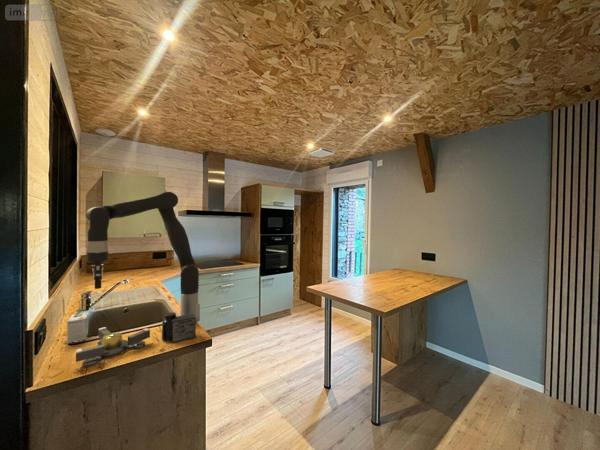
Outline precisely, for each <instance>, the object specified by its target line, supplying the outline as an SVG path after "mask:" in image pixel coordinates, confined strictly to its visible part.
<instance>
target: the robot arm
mask: <svg viewBox="0 0 600 450" xmlns="http://www.w3.org/2000/svg"><path fill="white" fill-rule="evenodd" d="M178 203H179V197H178V196H177V194H176V193H174V192H172V191H164V192H162V193H160V194H158V195H154V196H150V197H146V198H140V199H134V200H128V201H121V202H117V203H113V204H109V205H102V206H94V207H91V208H89V209H88V210H86V213H85V217H86V219H87V220H89V229H88V231H87V243H86V262H87V263H93V264H94V265H91V266H92V267H91V270H92V276H93V280H94V289H95V290H99V289H100V290H101V288H102V279H103V274H104V268H105V267H104V265H105V264H102V262H107V261H109V241H108V240H109V239H108V238H109V237H108V236H109V234H108V233H109V232H108V229H109V223H110V220H112V219H119V218H120V219H121V218H125V217H129V216H134V215H138V214H141V213H144V212H148V211H151V210H158V211H159V212H158V213H159V214H160V216H161V218H162V221H163V224H164V227H165V230H166V233H167V237H168V241H169V243H170V245H171V248H172V250H173V251H174V253H175V255H176V257H177V259H178V262H179V266H180V316H183V315H188V314H194V315H195V317H196V322H197V323H198V322H199V321H200V316H201V315H200V314H201V312H200V310H201V308H200V307H201V304H200V303H199V289H200V288H199V281H200V280H199V277H200V275H199V274H200V273H199V272H200V271H199V267H198V266H197V264H196V261H195V260H194V257H193V255H192V251H191V250H192V249H191V245H190V241H189V237H188V235H187V231H186V229H185V228H184V227H185V226H183V224H182V223H181V222H180V221H179V220H178V218H177V216H176V212H175V209H174V207H177V205H178Z"/></svg>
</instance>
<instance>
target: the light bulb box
mask: <svg viewBox="0 0 600 450" xmlns="http://www.w3.org/2000/svg"><path fill="white" fill-rule="evenodd" d="M66 323H67V325H66V328H67V329H66V336H67V337H66V338H67V339H66V344H67V345H70V344H71V343H70V342H74V341H80V342H83V341H82V340H85V341H86V340H87V337H88V335H89V334H88V333H89V311H87V312H86V311H85V312H81V313H74V314H71V315H70V317H69V319H68V320H67V322H66ZM69 343H70V344H69Z"/></svg>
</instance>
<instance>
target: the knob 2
mask: <svg viewBox="0 0 600 450" xmlns="http://www.w3.org/2000/svg"><path fill="white" fill-rule="evenodd" d="M150 331H151V328H146V327H145V328H143V329H142V330H141V331H138V332H136V333H134V334H131V335H129V336H127V341H128V345H133V344H141V343H142V341H145V340H147V339H149V338H150V337H151V332H150Z"/></svg>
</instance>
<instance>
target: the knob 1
mask: <svg viewBox="0 0 600 450" xmlns="http://www.w3.org/2000/svg"><path fill="white" fill-rule="evenodd" d="M101 355H104V344H103V345H99V346H98V345H96V346H95V345H94V346H90V347H86V348H78V349H76V351H75V362H76V363H77V362H81V361H82V362H83V361H84V360H86V359H87V361H92V360H94V357H98V356H101Z"/></svg>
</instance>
